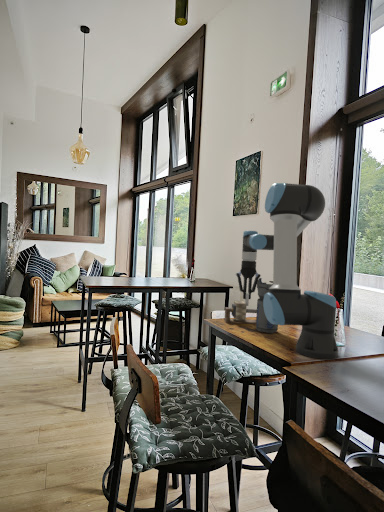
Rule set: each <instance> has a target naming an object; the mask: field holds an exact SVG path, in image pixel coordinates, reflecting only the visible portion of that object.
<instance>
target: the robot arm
mask: <svg viewBox="0 0 384 512" xmlns="http://www.w3.org/2000/svg"><path fill="white" fill-rule="evenodd" d="M325 208H326V198H325V196H324V193H322V191H321V190H320V189H319V188H317V187H316V186H313V185H310V184H298V183H287V182H283V183H282V182H275V183H273V184H272V185H271V186H270V187H269V189H268V191H267V193H266V197H265V202H264V210H265V212H266V213H267V214H269V218H270V220H271V222H273V234H261V233H258V231H257V230H244V231H243V235H242V249H241V250H242V253H241V264H240V265H241V268H240V271H238V272H236V273H235V276H236V277H237V281H238V282H237V283H238V286H239V287H238V288H239V291H240V292H242V298H243V300H244V302H245V303H246V304H247V305H246V307H248V306H249V300H251V298H252V297H251V296H252V293H255V291H256V288H257V282H258V280H259V278H261V276H262V275H261V274H259V273H258V272H257V271H258V270H257V257H258V255H257V254H258V252H257V251H259V250H260V251H273V263H272V264H273V265H272V266H273V271H272V272H273V274H272V275H273V276H272V277H273V278H272V281H273V283H272V284H273V285H272V286H271V287H270V288H269V293H266V294H265V295H264V299H263V307H264V312H265V315H266V318H267V320H268V321H269V322H270V323H271V324H277V325H278V326H301V332H300V335H299V336H298V337H299V338H298V339H297V341H296V345H295V352H297V353H298V354H299V355H302V356H306V357H309V358H313V359H318V360H319V359H320V360H333V359H334V360H335V359H337V358H338V357H339V349H338V345H337V341H336V337H335V329H336V326H335V325H336V314H337V309H338V308H337V298H336V297H335V296H334V295H331V294H327V293H322V292H319V291H318V292H317V291H313V290H308V289H307V290H304V292H303V293H302V292H301V291H302V289H301V288H300V287H299V286H298V284H297V283H298V282H297V281H298V280H297V278H298V277H297V276H298V274H297V273H298V272H297V271H298V269H297V268H298V267H297V266H298V265H297V264H298V263H297V260H298V256H297V255H298V237H299V236H300V234H301V233H303V231H304V230H305V229H306V228H307V227H308V226H309V225H310V224H311V223H312V222H315V221H317V220H318V219H319V218H320V217H321V216H322V214H323V213H324V210H325ZM241 276H242V277H243V281H242V277H241ZM253 278H254V281H253ZM242 282H243V283H242ZM252 283H253V284H252ZM247 287H248V288H247Z"/></svg>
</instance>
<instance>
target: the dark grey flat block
mask: <svg viewBox="0 0 384 512" xmlns="http://www.w3.org/2000/svg"><path fill="white" fill-rule="evenodd" d="M231 308H233V312H231V316H232V318H234V317H236V305H235V304H234V303H232V304H231Z"/></svg>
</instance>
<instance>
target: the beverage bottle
mask: <svg viewBox="0 0 384 512" xmlns="http://www.w3.org/2000/svg"><path fill="white" fill-rule="evenodd" d="M262 279H263V278H262V277H259V279H258V282H257V285H256V288H257V296H258V298H257V302H256V303H257V304H256V309H257V313H256V319H255V320H256V324H255V330H257V332H260V333H263V332H266V333H265V334H274V333H277V331H278V329H279V328H278V327H279V325H277V324H271V323H270V322H269V321H268V320H267V318H266V315H265V312H264V307H263V299H264V295H265V294H266V293H269V288H270V287H271V286H272V285H273V280H272V281H271V280H269V283H267V282H262V281H263V280H262Z"/></svg>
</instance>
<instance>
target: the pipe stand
mask: <svg viewBox="0 0 384 512" xmlns="http://www.w3.org/2000/svg"><path fill="white" fill-rule="evenodd" d="M232 312H233V308H232V307H229V306H228V307H227V306H225V307H224V319H223V320H224V323H226V324H242V323H243V324H245V325H256V319H247V318H246V321H242V320H235V319H234V318H231V313H232ZM246 314H257V308H246Z"/></svg>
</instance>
